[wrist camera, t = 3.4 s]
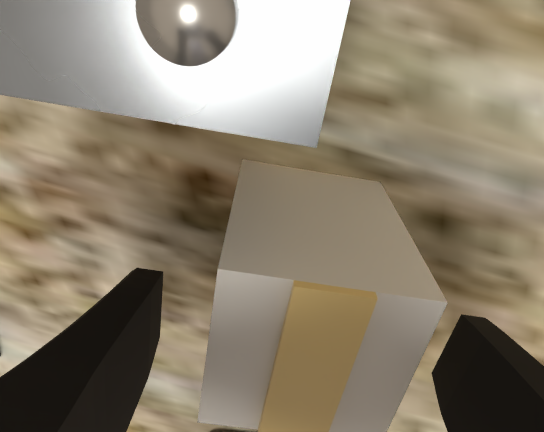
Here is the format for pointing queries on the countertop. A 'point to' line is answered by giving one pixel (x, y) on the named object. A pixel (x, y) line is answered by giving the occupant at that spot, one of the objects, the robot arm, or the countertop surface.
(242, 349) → the block
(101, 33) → the unit
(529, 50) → the countertop surface
